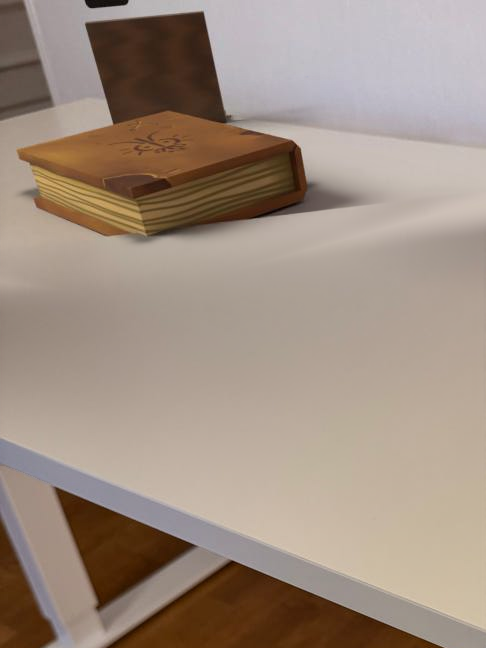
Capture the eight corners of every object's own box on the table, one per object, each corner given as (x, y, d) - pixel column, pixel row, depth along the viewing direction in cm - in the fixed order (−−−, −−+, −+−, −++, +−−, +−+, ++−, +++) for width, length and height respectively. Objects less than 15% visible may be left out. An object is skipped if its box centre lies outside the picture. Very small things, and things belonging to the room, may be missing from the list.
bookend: (115, 134, 120) (84, 23, 112) (118, 126, 123) (87, 18, 115) (226, 122, 121) (203, 12, 113) (226, 115, 124) (203, 7, 116)
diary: (309, 200, 96) (299, 138, 92) (149, 254, 87) (131, 188, 83) (187, 162, 109) (174, 106, 105) (36, 206, 99) (15, 147, 95)
